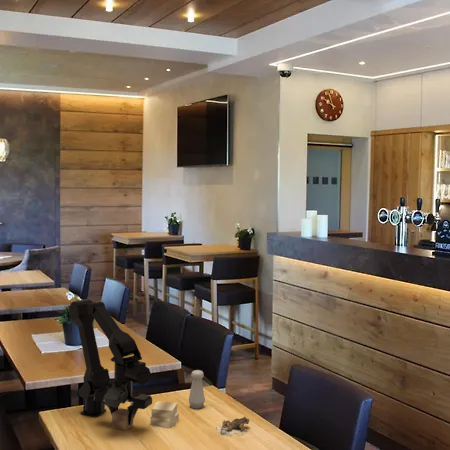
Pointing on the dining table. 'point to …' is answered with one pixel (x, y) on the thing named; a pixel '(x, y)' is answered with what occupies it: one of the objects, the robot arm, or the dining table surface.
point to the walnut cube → (121, 419)
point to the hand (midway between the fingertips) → (122, 423)
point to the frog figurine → (233, 426)
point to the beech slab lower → (164, 421)
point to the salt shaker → (197, 390)
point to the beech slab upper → (164, 410)
